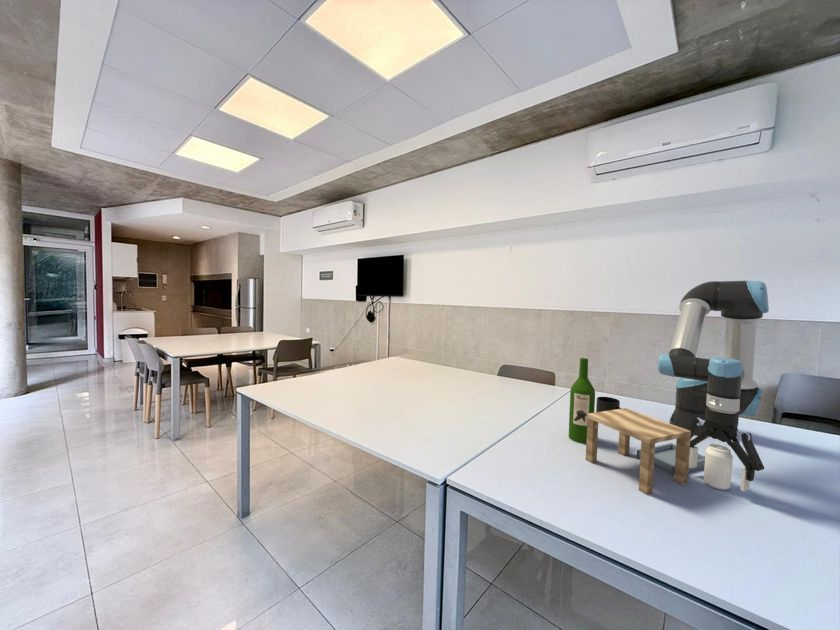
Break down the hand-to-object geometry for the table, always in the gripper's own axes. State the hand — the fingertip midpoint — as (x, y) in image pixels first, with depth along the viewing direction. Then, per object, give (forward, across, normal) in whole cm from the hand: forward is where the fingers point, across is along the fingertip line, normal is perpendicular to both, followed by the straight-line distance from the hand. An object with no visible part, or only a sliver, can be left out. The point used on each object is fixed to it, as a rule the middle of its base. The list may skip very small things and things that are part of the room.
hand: (717, 477), depth 104 cm
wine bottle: (+3, -40, -13) cm, 42 cm away
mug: (+3, -52, +17) cm, 55 cm away
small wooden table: (+2, -15, -16) cm, 22 cm away
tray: (+2, -15, +3) cm, 16 cm away
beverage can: (+3, 0, 0) cm, 3 cm away
